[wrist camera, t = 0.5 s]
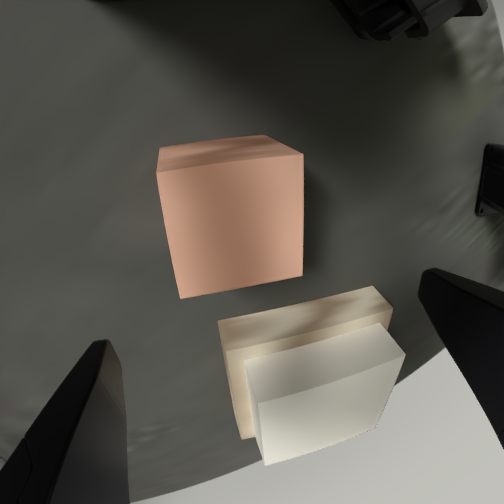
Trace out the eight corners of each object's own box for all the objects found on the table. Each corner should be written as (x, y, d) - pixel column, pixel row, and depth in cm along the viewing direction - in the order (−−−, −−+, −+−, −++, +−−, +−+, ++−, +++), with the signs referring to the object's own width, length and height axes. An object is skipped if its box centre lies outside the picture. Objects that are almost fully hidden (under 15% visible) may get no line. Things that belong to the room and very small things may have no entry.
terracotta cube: (263, 134, 17) (303, 154, 12) (267, 226, 19) (302, 275, 15) (159, 147, 16) (156, 172, 11) (175, 242, 18) (180, 298, 14)
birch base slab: (369, 282, 24) (393, 308, 21) (349, 377, 30) (364, 402, 27) (216, 315, 22) (225, 351, 19) (233, 409, 28) (241, 439, 25)
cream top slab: (379, 322, 22) (405, 354, 19) (358, 400, 27) (375, 428, 24) (243, 360, 20) (257, 403, 17) (254, 432, 25) (264, 465, 22)
